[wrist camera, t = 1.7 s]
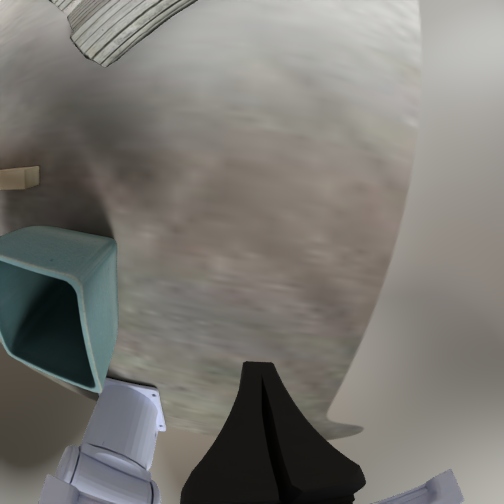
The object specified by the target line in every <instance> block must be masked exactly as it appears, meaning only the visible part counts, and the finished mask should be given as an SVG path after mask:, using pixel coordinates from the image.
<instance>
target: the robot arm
mask: <svg viewBox="0 0 504 504" xmlns="http://www.w3.org/2000/svg"><path fill="white" fill-rule="evenodd" d="M98 394H99V398H98V401H97V403H96V406H95V408H94V411H93V413H92V416H91V418H90V421H89V424H88V426H87V429H86V432H85V434H84V437H83V440H82V443H81V445H80V446H79V447H77V446H76V445H72V446H68V447H67V448H66V449H65V451H64V453H63V455H62V458H61V460H60V463H59V466H58V468H57V471H56V474H55V477H54V476H52V475H50V474H48V475H47V476H46V479H45V482H44V486H43V489H42V492H41V496H40V499H39V502H38V504H161V494H160V491H159V489H158V486H157V484H156V483H155V482H154V481H153V480H151V476H152V473H151V472H149V471H148V470H149V469H150V467H151V465H152V460H153V455H154V449H155V444H156V439H157V434H158V430H159V431H166V425H165V421H164V416H163V412H162V407H161V402H160V397H159V392H158V390H157V389H156V388H153V387H148V386H142V385H137V384H132V383H127V382H123V381H118V380H114V379H110V378H105V382H104V386H103V390H102V392H101V393H98ZM365 484H366V480H365V477H364V474H363V472H362V470H361V468H360V466H359V465H357V464H356V463H355V462H353V461H351V460H350V459H349V458H347V457H346V456H344V455H343V454H342V453H340V452H339V451H338V450H337V449H335V448H334V447H333V446H332V445H331V444H330V443H329V442H327V441H326V440H325V439H324V438H323V437H322V436H321V435H320V434H319V433H318V432H317V431H316V430H315V429H314V428H313V427H312V425H311V424H310V423H309V422H308V421H307V419H306V418H305V417H304V416H303V414H302V413H301V412H300V410H299V409H298V407H297V406H296V405H295V403H294V401H293V400H292V398H291V397H290V395H289V393H288V392H287V390H286V388H285V387H284V385H283V383H282V381H281V379H280V377H279V375H278V373H277V371H276V368H275V366H274V364H273V363H271V362H249V361H246V362H244V363H243V367H242V373H241V380H240V386H239V391H238V394H237V397H236V400H235V402H234V405H233V407H232V410H231V412H230V414H229V416H228V418H227V420H226V422H225V424H224V426H223V428H222V430H221V432H220V433H219V435H218V437H217V438H216V440H215V442H214V443H213V445H212V446H211V448H210V449H209V450H208V452H207V453H206V455H205V456H204V457H203V459H202V460H201V461H200V462H199V464H198V465H197V466H196V467H195V469H194V470H193V471H192V472H191V474H190V476H189V478H188V480H187V481H186V483H185V485H184V487H183V489H182V492H181V500H180V504H353V501H354V500H355V498H354V493H355V492H357V491H358V490H360V489H361V488H362V487H363V486H364V485H365ZM463 501H464V498H463V495H462V493H461V490H460V488H459V486H458V483H457V481H456V479H455V477H454V474H453V472H452V470H451V469H449V470H447V471H445V472H443V473H441V474H439V475H437V476H435V477H433V478H432V479H430V480H429V481H427V482H426V483H425V484H423V485H421V486H418V487H416V488H414V489H411V490H409V491H406V492H404V493H401V494H398V495H396V496H393V497H390V498H387V499H384V500H381V501H378V502H375V503H371V504H460V503H462V502H463Z"/></svg>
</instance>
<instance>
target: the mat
mask: <svg viewBox="0 0 504 504" xmlns="http://www.w3.org/2000/svg"><path fill="white" fill-rule="evenodd" d="M49 1H51V2H52V3H54V4H55V5H56V6H57V7H58V8H59V9H60V10H61V11H62V12H65V11H66V10H67V9H68V8H69V7H70V6H71V5H72V4H73V3H74V2H75V1H76V0H49ZM196 1H198V0H82V1H81V2H80V3H79V4H78V5H77V7H76V8H75V9H74V10H73V11H72V12H71V13H70V14H69V16H68V17H67V19H68V20H69V22H70V25H71V28H72V29H73V32H72V34H71V36H70V38H71V40H72V41H73V43H74V44H75V46H76V47H77V48H78V49H79V50H80V52H81V53H82V54H83V55H84V56H85V57H86V58H87V59H90V60H92V61H95V62H96V63H98V64H100V65H101V66H103V67H107V66H109V65H110V64H112V63H113V62H115V61H117V60H118V59H119V58H120V57H121V56H122V55H124V54H125V53H126V52H127V51H128V50H129V49H130V48H132V47H133V46H134V45H136V44H137V43H138V42H139V41H141V40H142V39H143V38H145V37H146V36H148V35H149V34H150V33H152V32H153V31H154V30H155V29H157V28H158V27H159V26H160V25H162V24H163V23H164V22H166V21H167V20H168V19H169V18H171V17H172V16H174V15H175V14H177V13H178V12H180V11H182V10H183V9H185V8H186V7H188V6H190V5H191V4H193V3H194V2H196Z"/></svg>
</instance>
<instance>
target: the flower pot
mask: <svg viewBox="0 0 504 504" xmlns="http://www.w3.org/2000/svg"><path fill="white" fill-rule="evenodd" d="M117 331H118V294H117V244H116V241H115V240H114V239H112V238H109V237H103V236H98V235H93V234H88V233H83V232H78V231H73V230H68V229H64V228H58V227H53V226H30V227H25V228H21V229H18V230H15V231H13V232H10V233H8V234H5V235H3V236H0V338H1V341H2V343H3V346H4V348H5V350H6V351H7V353H8V354H9V355H10V356H12V357H13V358H15V359H17V360H19V361H21V362H23V363H25V364H27V365H29V366H31V367H33V368H35V369H37V370H40V371H42V372H44V373H46V374H49V375H51V376H54V377H56V378H58V379H61V380H63V381H66V382H68V383H71V384H73V385H76V386H78V387H81V388H83V389H86V390H89V391H92V392H97V393H101V392H102V390H103V386H104V382H105V378H106V375H107V371H108V367H109V364H110V360H111V357H112V353H113V350H114V346H115V342H116V338H117Z"/></svg>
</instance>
